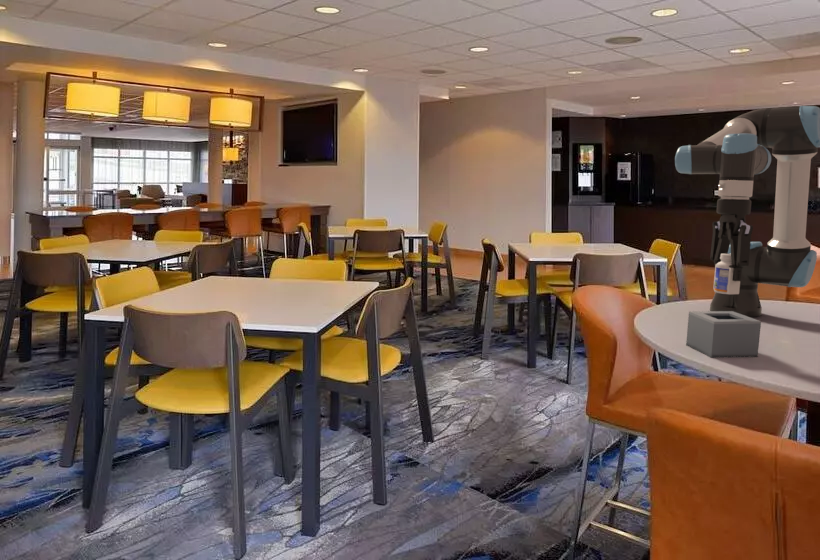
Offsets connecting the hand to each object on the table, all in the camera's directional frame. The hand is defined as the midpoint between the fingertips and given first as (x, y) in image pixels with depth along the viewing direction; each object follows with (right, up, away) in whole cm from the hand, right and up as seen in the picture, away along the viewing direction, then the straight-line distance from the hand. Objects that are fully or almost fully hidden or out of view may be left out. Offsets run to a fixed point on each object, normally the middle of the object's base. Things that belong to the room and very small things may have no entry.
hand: (725, 291), depth 165 cm
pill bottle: (0, -1, 0) cm, 1 cm away
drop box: (0, -15, +3) cm, 15 cm away
